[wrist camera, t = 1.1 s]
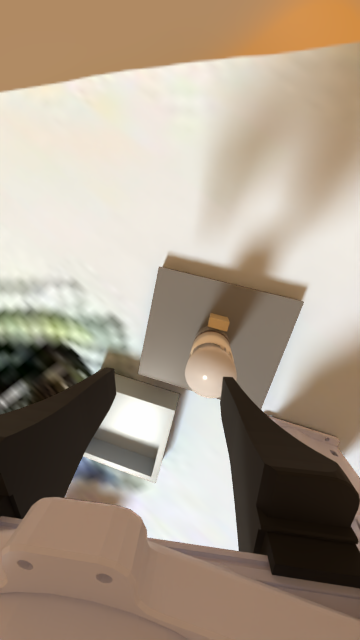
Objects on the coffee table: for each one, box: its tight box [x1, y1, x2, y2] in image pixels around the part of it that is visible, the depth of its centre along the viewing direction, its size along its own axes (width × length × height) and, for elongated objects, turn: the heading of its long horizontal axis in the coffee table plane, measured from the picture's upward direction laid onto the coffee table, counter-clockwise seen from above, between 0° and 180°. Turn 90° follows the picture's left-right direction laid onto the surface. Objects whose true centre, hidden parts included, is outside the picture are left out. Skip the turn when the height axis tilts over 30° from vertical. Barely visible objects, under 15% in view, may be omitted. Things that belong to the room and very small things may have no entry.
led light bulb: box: [185, 326, 237, 398], centre depth 19 cm, size 4×4×8 cm
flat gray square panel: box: [138, 267, 304, 409], centre depth 22 cm, size 16×14×4 cm
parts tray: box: [83, 369, 180, 483], centre depth 27 cm, size 12×12×4 cm
